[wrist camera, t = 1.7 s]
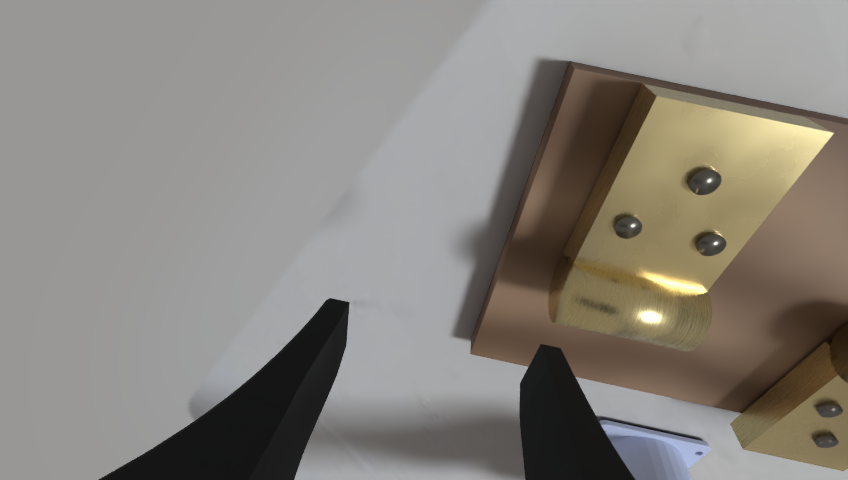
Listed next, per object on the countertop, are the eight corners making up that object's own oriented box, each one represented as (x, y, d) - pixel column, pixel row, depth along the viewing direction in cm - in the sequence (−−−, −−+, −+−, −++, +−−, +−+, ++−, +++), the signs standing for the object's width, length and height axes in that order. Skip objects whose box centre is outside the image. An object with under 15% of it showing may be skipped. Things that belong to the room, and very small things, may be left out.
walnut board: (841, 419, 26) (854, 437, 25) (471, 339, 26) (470, 353, 25) (1177, 186, 16) (1221, 202, 15) (569, 61, 16) (574, 68, 15)
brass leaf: (658, 314, 21) (681, 365, 19) (545, 290, 21) (552, 337, 19) (804, 117, 15) (869, 152, 12) (642, 83, 15) (674, 111, 12)
